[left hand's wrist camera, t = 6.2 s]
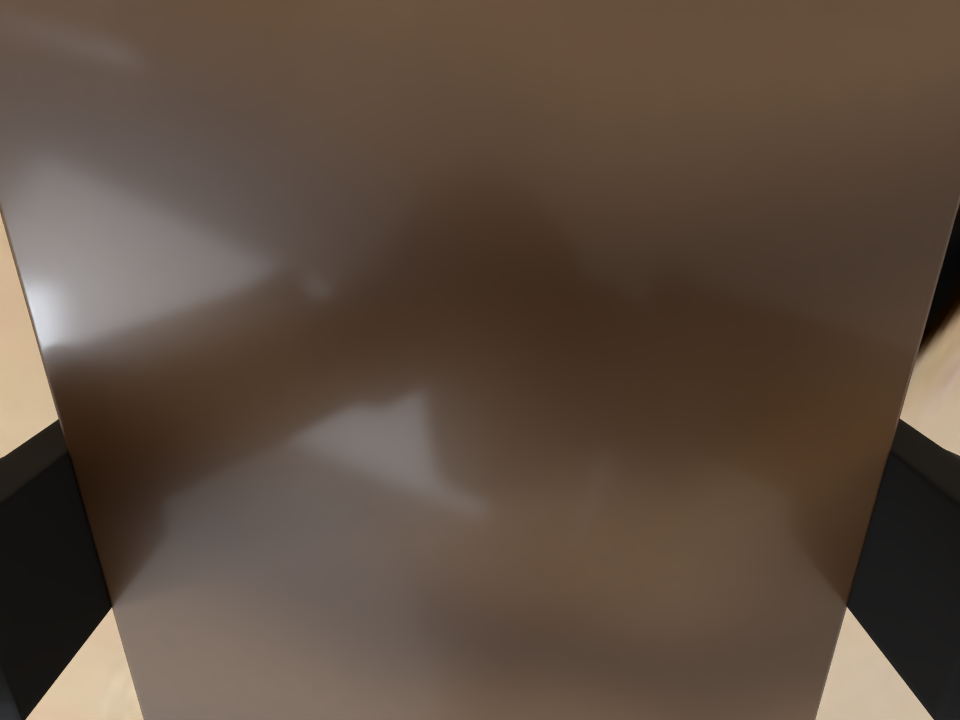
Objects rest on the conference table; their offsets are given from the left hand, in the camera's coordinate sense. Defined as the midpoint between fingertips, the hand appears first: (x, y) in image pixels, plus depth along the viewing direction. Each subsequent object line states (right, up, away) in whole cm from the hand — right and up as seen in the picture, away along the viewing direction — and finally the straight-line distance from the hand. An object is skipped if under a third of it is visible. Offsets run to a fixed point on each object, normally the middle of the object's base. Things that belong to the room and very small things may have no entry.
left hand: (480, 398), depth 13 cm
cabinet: (0, +6, +3) cm, 7 cm away
